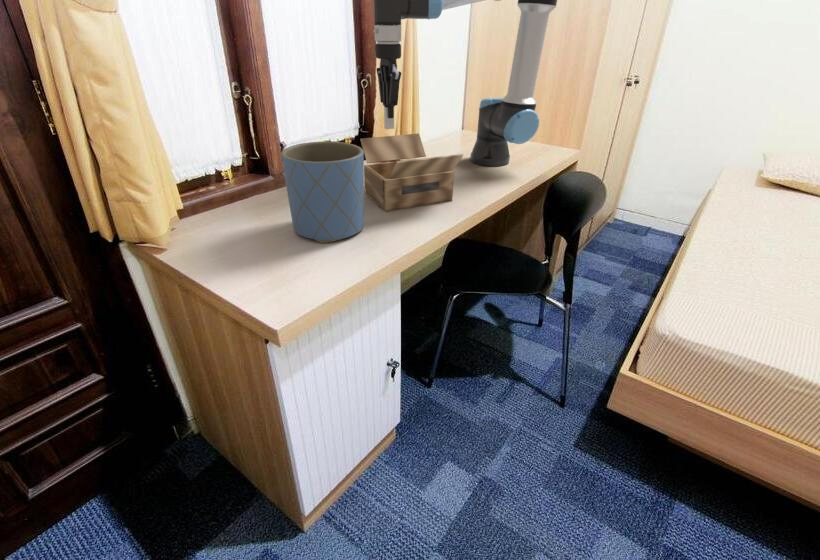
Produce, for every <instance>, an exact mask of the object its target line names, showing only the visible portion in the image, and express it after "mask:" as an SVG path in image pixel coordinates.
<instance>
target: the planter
mask: <svg viewBox="0 0 820 560" xmlns="http://www.w3.org/2000/svg"><path fill="white" fill-rule="evenodd" d="M280 155H281V163H282V169H283V174H284V176H283V177H284V180H285V186H286V192H287V199H288V205H289V211H290V215H291V222H292V226H293V230H294V232H295V233H296V234H298V235H300V236H301V237H304V238H308V239H311V240H315V241H317V242H318V243H320V244H327V243H331V242H335V241H338V240H339V241H340V240H342V239H343V240H344V239H345V238H349V237H352V236H354V235H356V234H358V233H360V232H362V231H363V229H364V220H365V219H364V213H365V212H364V211H365V210H364V208H365V206H364V205H365V204H364V203H365V202H364V199H365V197H364V194H365V190H364V189H365V182H364V165H365V164H364V162H365V161H364V158H365V155H364V151H363V148H362V147H360V146H358V145H356V144H352V143H347V142H342V141H341V142H340V141H339V142H337V141H310V142H304V143H299V144H294V145H290V146H287V147H285V148H284V149H283V150H282V151H281V153H280Z"/></svg>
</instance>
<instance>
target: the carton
mask: <svg viewBox="0 0 820 560" xmlns="http://www.w3.org/2000/svg"><path fill="white" fill-rule="evenodd" d="M423 158H424V157H421V159H423ZM414 159H415V158H412V160H414ZM405 160H406V159H403V161H405ZM397 161H398V160H395V161H386V162H377V163H369V164H364V189H365V190H364V194H365V195H366V196H367V197H368V198H370V199H371V200H372V201H373V202H374V203H375V204H376V205H378V206H379V208H381V209H382V210H383V211H384V212H391V211H392V212H393V211H397V210H399V211H400V210H404V209H409V208H411V209H412V208H416V207H422V206H429V205H435V204H441V203H448V202H453V195H454V183H455V181H454V180H455V170H454V169H453V171H450V172H442V173H434V174H427V175H419V176H412V177H404V178H396V179H389V176H390V174H391V172H392V170H393V168H394V166H395V164H396V162H397Z"/></svg>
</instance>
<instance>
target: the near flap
mask: <svg viewBox="0 0 820 560" xmlns="http://www.w3.org/2000/svg"><path fill="white" fill-rule="evenodd" d="M463 157H464V153H457V154H451V155H441V156H433V157H422V158H423V159H422V158H413V159H414V160H413V159H404V160H405V161H404V160H396V161H397V162H396V161H395V162H396V164H395V166H394V168H393V170H392V172H391V174H390V176H389V179H396V178H404V177H412V176H419V175H427V174H434V173H442V172H450V171H453V170H454V169H455V168H456V167H457V165H458V164H459V162H460V161H461V159H462V158H463Z"/></svg>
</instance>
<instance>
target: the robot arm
mask: <svg viewBox="0 0 820 560" xmlns="http://www.w3.org/2000/svg"><path fill="white" fill-rule="evenodd" d="M483 1H485V0H373V15H374V17H373V18H374V29H373V31H372V32H373V34H374V41H375V42H377V43H375V45H374V54H375V55H374V56H375V58H376V59H380V61H379V67H376V74H377V79H378V80H377V83H378V88H379V89H378V90H379V100H380V103H382V106H383V120H384V121H383V122H384V129H385V130H391V129H393V130H394V129H395V107H396V106H398V103H399V95H400V94H399V92H400V91H399V90H400V84H401V83H400V82H401V78H402V77H401V76H402V72H401V71H398V65H397V64H398V63H397V59H401V58H402V44H401V43H400V42H402V20H405V19H409V20H410V19H411V20H433V19H434V20H435V19H438V18H440V16H441V15H442V12H443V11H445V10H449V9H453V8H458V7H462V6H466V5H470V4H475V3H479V2H483ZM494 1H495V2H499V1H501V0H494ZM557 2H558V0H517V7H518V9H520V16H519V17H520V18H519V23H518V28H517V34H516V40H515V46H514V52H513V59H512V63H511V69H510V70H511V71H510V76H509V82H508V88H507V94H506V95H505V96H504V97H491V98H490V97H488V98H483V99H481V101H480V102H479V103H480V104H479V109H478V121H477V123H478V124H477V132H476V140H475V144H474V145H473V148H472V150H471V153H470V159H469V160H470V162H472V163H474V164H476V165H480V166H486V167H501V166H506V165H508V164H509V163H510V157H511V156H510V155H511V154H510V150H509V143H510V144H515V145H522V144H523V145H524V144H526V143H527V142H529V141H530V140H531V139H532V138H533V137H534V136H535V135H536V134H537V132H538V129H539V126H540V117H539V115H538V114H537V112H536V108H537V107H536V106H537V101H536V100H535V98H534V94H535V93H534V92H535V88H536V83H537V78H538V74H539V68H540V63H541V57H542V52H543V47H544V44H545V43H544V42H545V38H546V33H547V28H548V22H549V18H550V17H549V16H550V14H551V13H552V11H553V10H555V9H556V8H557Z"/></svg>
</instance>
